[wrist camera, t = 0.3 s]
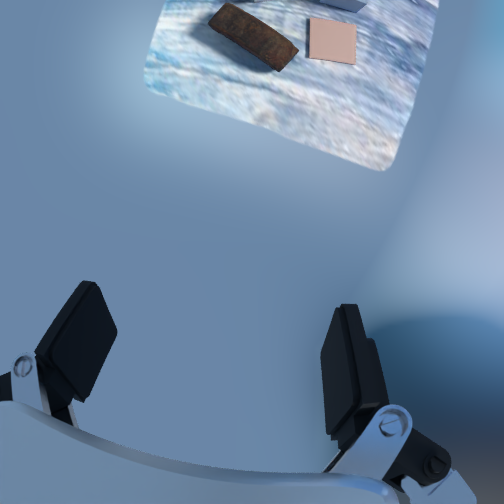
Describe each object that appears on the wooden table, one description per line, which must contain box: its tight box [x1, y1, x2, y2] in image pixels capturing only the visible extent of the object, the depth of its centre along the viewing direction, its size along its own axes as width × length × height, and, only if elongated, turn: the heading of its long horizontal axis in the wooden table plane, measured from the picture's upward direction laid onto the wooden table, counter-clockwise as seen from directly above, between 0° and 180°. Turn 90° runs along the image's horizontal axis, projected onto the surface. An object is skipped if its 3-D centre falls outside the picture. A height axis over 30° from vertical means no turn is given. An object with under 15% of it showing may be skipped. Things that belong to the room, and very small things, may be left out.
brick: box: [208, 3, 299, 72], centre depth 25 cm, size 11×4×5 cm, turn 52°
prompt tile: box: [309, 18, 356, 65], centre depth 26 cm, size 6×6×1 cm
